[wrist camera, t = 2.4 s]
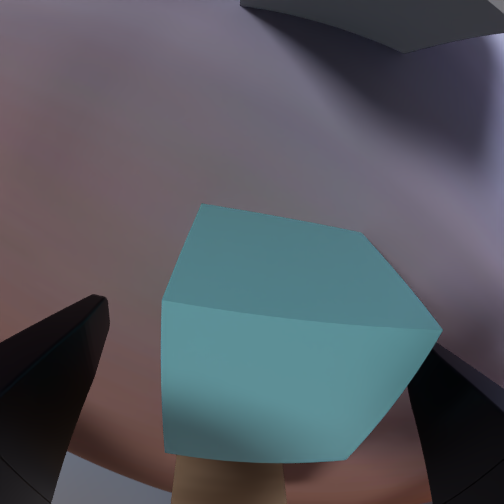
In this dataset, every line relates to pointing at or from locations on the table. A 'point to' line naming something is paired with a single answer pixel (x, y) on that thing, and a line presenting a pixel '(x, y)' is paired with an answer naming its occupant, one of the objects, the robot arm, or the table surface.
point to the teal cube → (283, 340)
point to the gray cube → (399, 18)
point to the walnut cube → (227, 482)
